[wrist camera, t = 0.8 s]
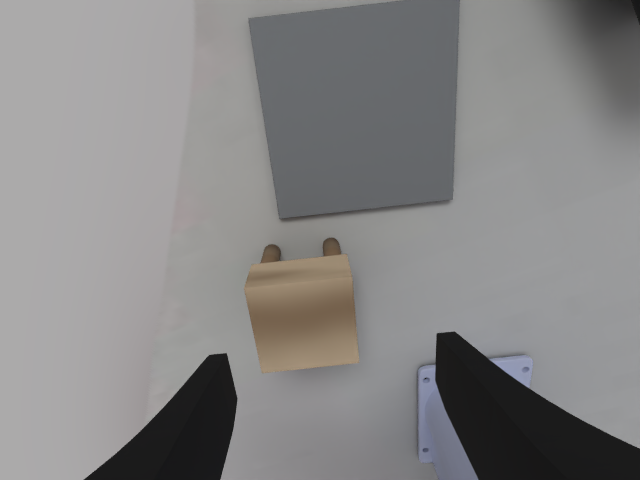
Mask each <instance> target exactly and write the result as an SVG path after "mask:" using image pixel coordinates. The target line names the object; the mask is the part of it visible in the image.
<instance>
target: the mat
mask: <svg viewBox="0 0 640 480" xmlns="http://www.w3.org/2000/svg"><path fill="white" fill-rule="evenodd" d="M459 5H460V0H403V1H395V2H386V3H377V4H369V5H360V6H351V7H343V8H334V9H325V10H317V11H308V12H300V13H291V14H282V15H274V16H265V17H256V18H248V19H249V26H250V32H251V39H252V45H253V52H254V58H255V64H256V71H257V77H258V84H259V90H260V97H261V103H262V109H263V116H264V122H265V129H266V135H267V141H268V148H269V154H270V161H271V167H272V174H273V180H274V186H275V193H276V199H277V206H278V212H279V218H280V219H281V218H290V217H299V216H308V215H317V214H326V213H335V212H344V211H353V210H362V209H371V208H380V207H389V206H398V205H407V204H416V203H425V202H434V201H443V200H452V199H453V177H454V148H455V120H456V91H457V62H458V34H459Z"/></svg>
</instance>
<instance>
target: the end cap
mask: <svg viewBox="0 0 640 480" xmlns="http://www.w3.org/2000/svg"><path fill="white" fill-rule="evenodd" d="M631 1H632V4H633V7H634V10H635V12H636V15H637V18H638V21H639V23H640V0H631Z"/></svg>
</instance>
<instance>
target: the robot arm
mask: <svg viewBox="0 0 640 480" xmlns="http://www.w3.org/2000/svg"><path fill="white" fill-rule="evenodd" d="M524 367H525V368H524ZM532 367H533V360H532V359H531V358H530V357H529V356H528V355H521V356H511V357H502V358H493V359H488V358H487V357H486V356H484V355H483V354H482V353H481V352H479V351H478V350H477V349H476V348H474V347H473V346H472V345H471V344H469V343H468V342H467V341H466V340H464V339H463V338H462V337H461V336H460V335H458V334H457V333H456V332H446V333H437V341H436V365H427V366H422V367H421V368H419V370H418V457H419V460H420V462H422V463H431V462H433V464H434V467H435V470H436V473H437V476H438V479H439V480H640V449H639V448H637V447H635V446H632V445H630V444H628V443H626V442H624V441H622V440H620V439H618V438H616V437H613V436H611V435H609V434H607V433H605V432H604V431H602V430H600V429H598V428H596V427H594V426H592V425H590V424H588V423H586V422H584V421H582V420H580V419H579V418H577V417H575V416H573V415H571V414H570V413H568V412H566V411H565V410H563V409H561V408H560V407H558V406H556V405H555V404H553V403H551V402H549V401H548V400H546V399H545V398H543V397H541V396H540V395H538V394H537V393H535V392H534V391H532V390H531V389H529V388H530V381H531V374H532ZM426 377H427V379H424V378H426ZM236 406H237V395H236V391H235V387H234V382H233V378H232V374H231V369H230V365H229V361H228V356H227V353H224V354H214V355H209V356H208V357H207V358H206V359H205V360H204V361H203V363H202V364H201V365H200V366H199V367H198V368H197V370H196V371H195V372H194V373H193V374H192V376H191V377H190V378H189V379H188V380H187V382H186V383H185V384H184V385H183V386H182V387H181V388H180V390H179V391H178V392H177V393H176V394H175V395H174V396H173V398H172V399H171V400H170V401H169V402H168V403H167V404H166V405H165V406H164V408H163V409H162V410H161V411H160V412H159V413H158V414H157V415H156V416H155V417H154V418H153V419H152V420H151V421H150V422H149V423H148V424H147V425H146V426H145V427H144V428H143V429H142V430H141V431H140V432H139V433H138V434H137V435H136V436H135V437H134V438H133V439H132V440H131V441H130V442H128V443H127V444H126V445H125V446H124V447H123V448H122V449H121V450H120V451H118V452H117V453H116V454H115V455H114V456H113V457H111V458H110V459H109V460H108V461H106V462H105V463H104V464H103V465H101V466H100V467H99V468H98V469H97V470H96V471H94V472H93V473H92V474H90V475H89V476H88V477H87V478H85V479H84V480H220V479H221V475H222V471H223V467H224V463H225V460H226V456H227V452H228V448H229V444H230V440H231V436H232V432H233V428H234V421H235V414H236Z"/></svg>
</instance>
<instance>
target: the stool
mask: <svg viewBox="0 0 640 480" xmlns="http://www.w3.org/2000/svg"><path fill="white" fill-rule="evenodd" d="M323 253H324V257H315V258H306V259H297V260H288V261H279V259H280V249H279V247H278V246H276V245H268V246H266V247H265V249H264V253H263V256H262V260H261V263H260V264H252V265H251V268H250V272H249V275H248V278H247V281H246V284H245V287H244V290H245V295H246V300H247V305H248V309H249V314H250V319H251V324H252V328H253V333H254V338H255V342H256V347H257V352H258V357H259V361H260V366H261V371H262V373H269V372H278V371H288V370H297V369H306V368H316V367H325V366H334V365H344V364H353V363H359V355H358V343H357V330H356V318H355V305H354V293H353V281H352V274H351V270H350V266H349V262H348V258H347V254H343V255H341V251H340V246H339V242H338V241H337V240H336V239H334V238H328V239H326V240H325V241H324V243H323Z"/></svg>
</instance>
